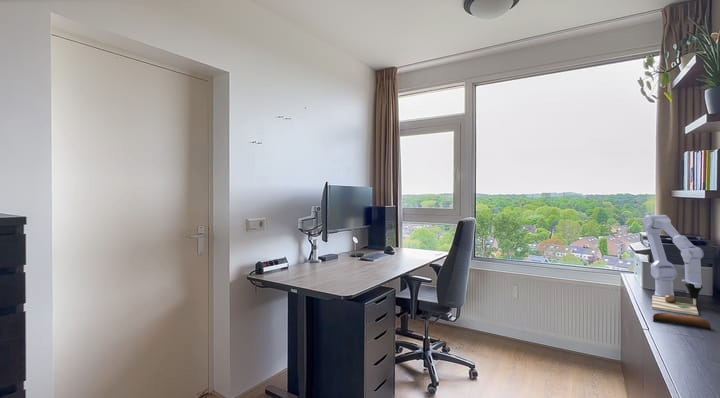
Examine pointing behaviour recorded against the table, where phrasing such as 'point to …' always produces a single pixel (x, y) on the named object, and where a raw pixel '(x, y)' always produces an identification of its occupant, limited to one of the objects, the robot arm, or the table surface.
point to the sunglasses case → (681, 320)
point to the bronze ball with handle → (680, 299)
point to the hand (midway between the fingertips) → (693, 299)
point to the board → (673, 306)
